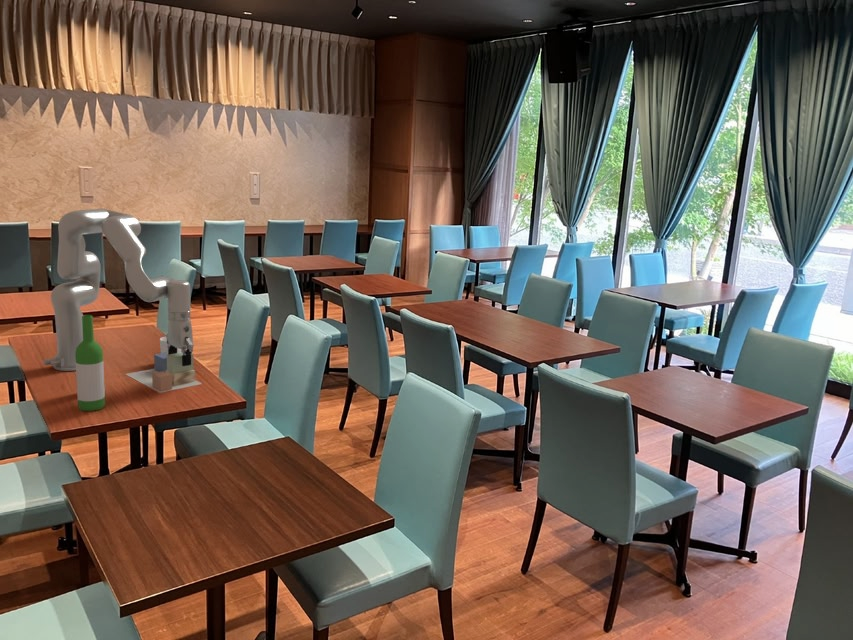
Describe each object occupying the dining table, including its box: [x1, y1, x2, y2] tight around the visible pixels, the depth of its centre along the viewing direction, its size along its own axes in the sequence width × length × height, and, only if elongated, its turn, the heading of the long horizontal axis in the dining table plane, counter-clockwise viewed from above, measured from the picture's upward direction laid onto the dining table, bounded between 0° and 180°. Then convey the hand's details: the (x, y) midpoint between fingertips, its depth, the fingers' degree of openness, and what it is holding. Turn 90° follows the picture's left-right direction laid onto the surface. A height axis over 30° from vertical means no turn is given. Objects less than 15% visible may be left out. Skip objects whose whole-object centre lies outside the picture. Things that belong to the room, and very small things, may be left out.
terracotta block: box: [152, 371, 172, 391], centre depth 238 cm, size 4×6×5 cm, turn 48°
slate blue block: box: [153, 352, 168, 372], centre depth 256 cm, size 7×4×6 cm, turn 48°
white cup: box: [159, 336, 182, 354], centre depth 266 cm, size 8×8×10 cm
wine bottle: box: [75, 314, 106, 412], centre depth 214 cm, size 8×8×30 cm
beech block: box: [166, 369, 196, 385], centre depth 246 cm, size 8×6×4 cm
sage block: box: [167, 351, 195, 374], centre depth 245 cm, size 8×4×6 cm, turn 138°
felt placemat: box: [125, 368, 203, 394], centre depth 248 cm, size 16×26×1 cm, turn 48°
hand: (179, 362), depth 245 cm, fingers open, 9 cm apart
